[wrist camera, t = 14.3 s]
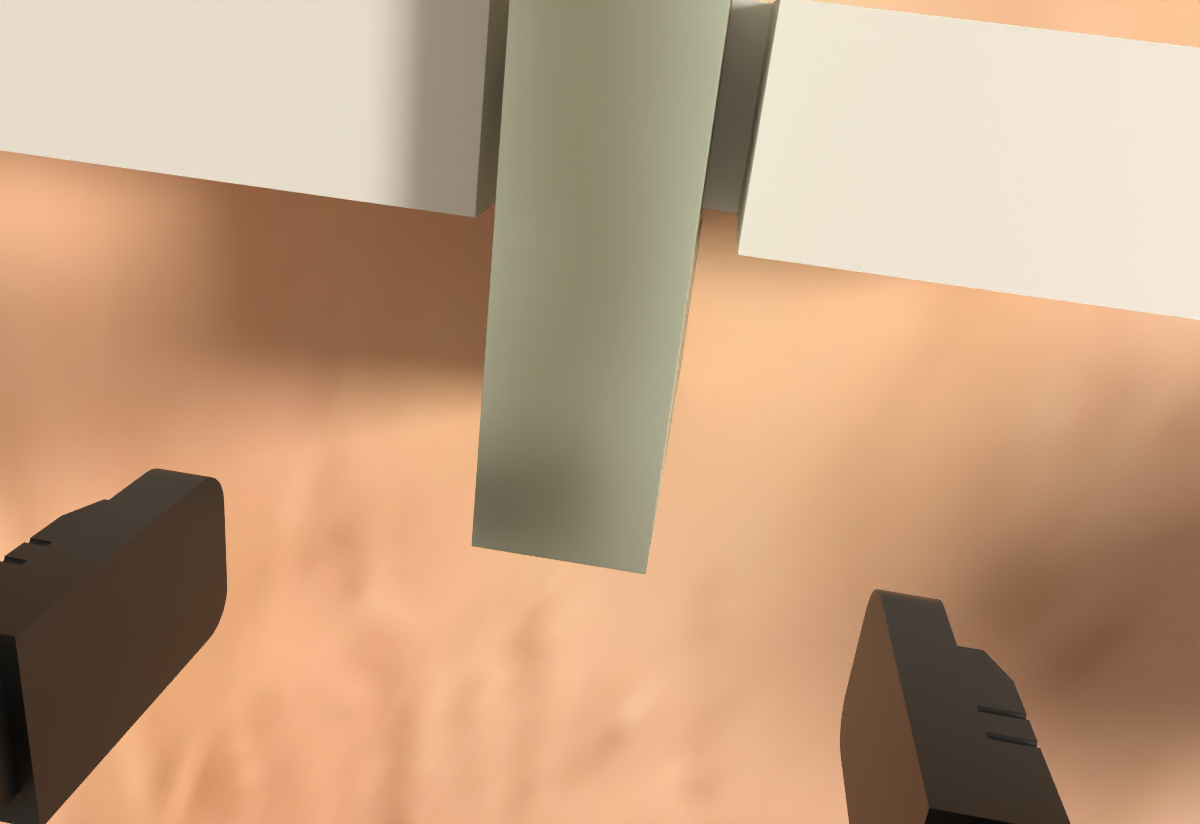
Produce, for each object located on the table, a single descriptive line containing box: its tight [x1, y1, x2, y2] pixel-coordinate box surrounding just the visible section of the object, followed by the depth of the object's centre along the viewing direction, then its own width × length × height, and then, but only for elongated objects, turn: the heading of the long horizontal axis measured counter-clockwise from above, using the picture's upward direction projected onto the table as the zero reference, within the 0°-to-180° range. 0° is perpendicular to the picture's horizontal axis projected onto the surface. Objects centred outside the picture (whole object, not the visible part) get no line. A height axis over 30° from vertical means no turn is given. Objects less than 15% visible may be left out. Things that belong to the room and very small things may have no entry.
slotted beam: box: [0, 0, 1200, 320], centre depth 20 cm, size 24×4×8 cm, turn 83°
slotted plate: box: [472, 0, 733, 574], centre depth 19 cm, size 3×14×10 cm, turn 173°
